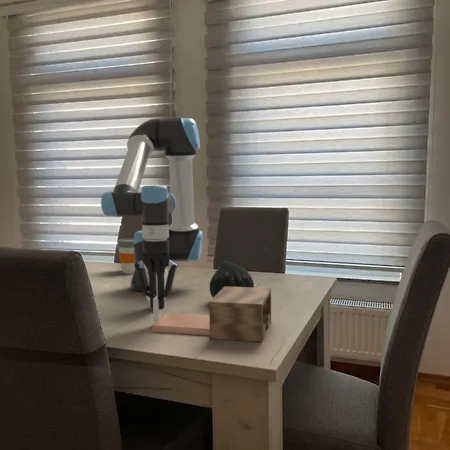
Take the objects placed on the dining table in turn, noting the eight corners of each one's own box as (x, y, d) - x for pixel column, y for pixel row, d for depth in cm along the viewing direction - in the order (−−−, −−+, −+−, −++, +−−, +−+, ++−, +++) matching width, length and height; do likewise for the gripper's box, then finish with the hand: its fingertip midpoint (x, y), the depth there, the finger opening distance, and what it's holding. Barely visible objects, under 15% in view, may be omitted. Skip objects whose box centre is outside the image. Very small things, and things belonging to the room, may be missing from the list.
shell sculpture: (143, 305, 157) (142, 252, 155) (168, 304, 157) (167, 252, 156) (141, 312, 148) (139, 256, 147) (167, 311, 149) (166, 256, 147)
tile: (152, 332, 130) (152, 325, 130) (167, 319, 141) (167, 313, 141) (214, 336, 126) (214, 329, 126) (225, 323, 137) (225, 316, 137)
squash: (266, 289, 154) (247, 252, 162) (228, 297, 147) (210, 258, 154) (249, 309, 165) (232, 273, 172) (212, 318, 157) (196, 280, 164)
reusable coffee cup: (132, 275, 206) (131, 242, 204) (112, 273, 213) (111, 240, 211) (152, 271, 216) (151, 239, 215) (132, 268, 223) (131, 237, 222)
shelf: (209, 338, 123) (209, 301, 122) (224, 318, 141) (224, 286, 140) (262, 342, 120) (262, 304, 119) (271, 321, 137) (271, 288, 136)
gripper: (129, 240, 131) (131, 322, 133) (172, 241, 128) (174, 325, 130) (139, 237, 138) (142, 314, 141) (181, 238, 135) (183, 317, 138)
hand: (157, 319), depth 136 cm, fingers closed
